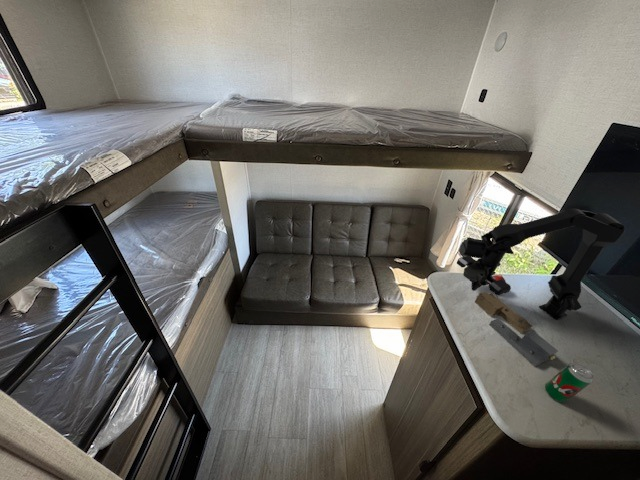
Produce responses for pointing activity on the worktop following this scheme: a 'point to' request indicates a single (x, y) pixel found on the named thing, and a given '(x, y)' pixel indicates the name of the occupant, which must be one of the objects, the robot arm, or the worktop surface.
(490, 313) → the wooden block
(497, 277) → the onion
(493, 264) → the robot arm
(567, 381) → the soda can
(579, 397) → the worktop surface
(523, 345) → the leaf fixed
